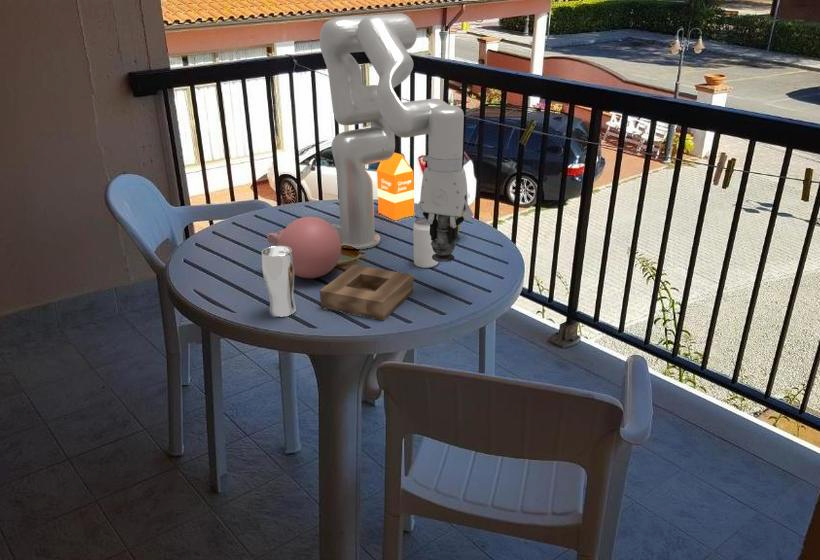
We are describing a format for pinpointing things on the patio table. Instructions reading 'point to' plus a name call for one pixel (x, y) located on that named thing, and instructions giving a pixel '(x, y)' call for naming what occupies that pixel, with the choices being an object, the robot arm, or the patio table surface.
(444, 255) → the grey chess piece
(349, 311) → the socket block
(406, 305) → the patio table surface
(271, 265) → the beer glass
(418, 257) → the can
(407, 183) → the orange juice
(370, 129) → the robot arm
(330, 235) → the pink party balloon
